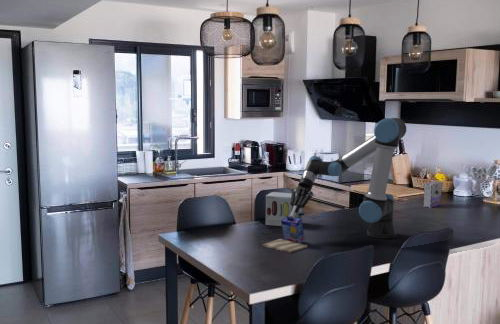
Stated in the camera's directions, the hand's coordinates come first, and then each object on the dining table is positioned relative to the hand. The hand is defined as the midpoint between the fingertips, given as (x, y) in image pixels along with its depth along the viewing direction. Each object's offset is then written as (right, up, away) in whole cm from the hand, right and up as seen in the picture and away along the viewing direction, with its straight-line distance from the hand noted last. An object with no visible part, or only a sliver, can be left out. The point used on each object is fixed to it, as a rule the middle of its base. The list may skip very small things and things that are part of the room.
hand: (291, 217), depth 267 cm
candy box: (+105, -2, +89) cm, 137 cm away
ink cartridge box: (+1, -12, 0) cm, 12 cm away
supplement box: (-2, -9, +39) cm, 40 cm away
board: (-4, -14, -9) cm, 17 cm away
